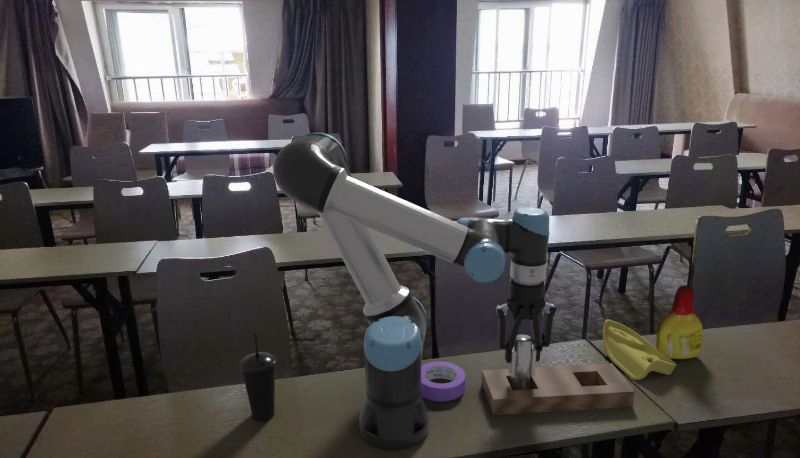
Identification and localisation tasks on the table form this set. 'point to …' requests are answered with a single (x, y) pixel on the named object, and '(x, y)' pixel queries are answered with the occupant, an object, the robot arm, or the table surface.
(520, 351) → the steel pin
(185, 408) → the table surface
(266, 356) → the drinking cup
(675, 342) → the bottle
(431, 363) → the masking tape
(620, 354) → the plastic component
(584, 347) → the table surface
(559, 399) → the brown block with holes
